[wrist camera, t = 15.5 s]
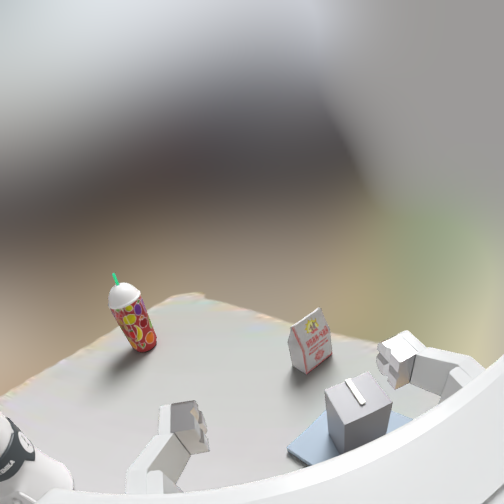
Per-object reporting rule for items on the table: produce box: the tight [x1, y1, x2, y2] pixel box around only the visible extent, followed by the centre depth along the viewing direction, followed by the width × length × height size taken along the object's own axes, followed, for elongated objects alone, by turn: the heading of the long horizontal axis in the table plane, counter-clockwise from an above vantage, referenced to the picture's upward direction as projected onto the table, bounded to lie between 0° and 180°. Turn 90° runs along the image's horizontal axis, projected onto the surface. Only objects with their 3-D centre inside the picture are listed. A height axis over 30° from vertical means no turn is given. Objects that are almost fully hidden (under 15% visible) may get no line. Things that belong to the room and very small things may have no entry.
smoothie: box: [108, 273, 157, 352], centre depth 62 cm, size 8×8×20 cm
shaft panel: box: [287, 410, 414, 466], centre depth 30 cm, size 13×14×8 cm
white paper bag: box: [288, 308, 332, 374], centre depth 48 cm, size 4×7×10 cm, turn 126°
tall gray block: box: [324, 371, 393, 455], centre depth 29 cm, size 6×6×10 cm
